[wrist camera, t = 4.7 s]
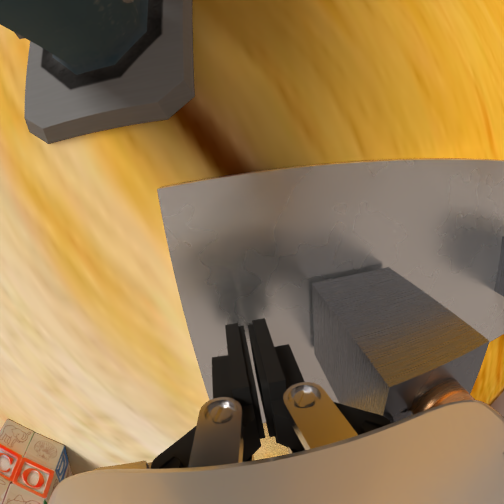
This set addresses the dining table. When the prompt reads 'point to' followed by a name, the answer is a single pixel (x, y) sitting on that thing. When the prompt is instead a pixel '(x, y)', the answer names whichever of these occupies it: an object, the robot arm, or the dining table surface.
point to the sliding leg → (392, 344)
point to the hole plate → (331, 245)
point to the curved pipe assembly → (102, 62)
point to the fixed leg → (500, 272)
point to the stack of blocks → (29, 465)
